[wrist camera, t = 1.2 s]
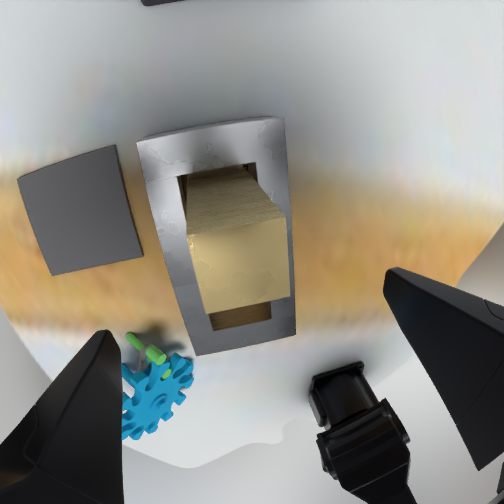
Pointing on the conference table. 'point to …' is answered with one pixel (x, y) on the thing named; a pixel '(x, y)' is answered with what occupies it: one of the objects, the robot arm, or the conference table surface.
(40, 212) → the rubber pad
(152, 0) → the calculator
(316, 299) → the conference table surface
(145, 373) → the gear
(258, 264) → the brass peg
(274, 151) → the grey cinder block
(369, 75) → the conference table surface
